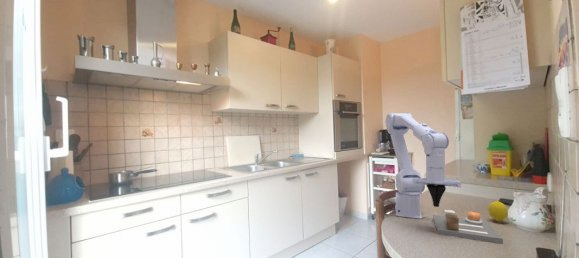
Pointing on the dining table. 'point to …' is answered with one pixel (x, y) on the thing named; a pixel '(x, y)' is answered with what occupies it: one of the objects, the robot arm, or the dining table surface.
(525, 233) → the dining table surface
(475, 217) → the button orange
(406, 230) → the dining table surface
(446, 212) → the slider cream
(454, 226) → the slider walnut
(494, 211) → the lemon
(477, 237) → the panel
